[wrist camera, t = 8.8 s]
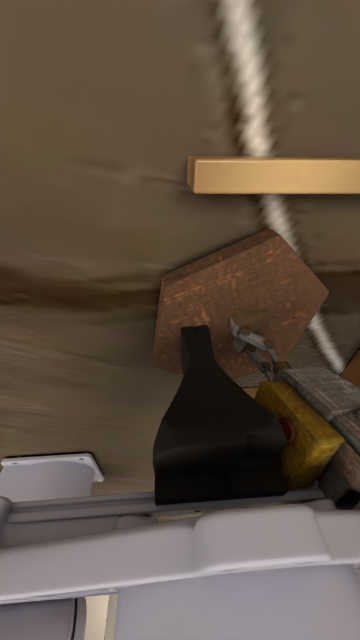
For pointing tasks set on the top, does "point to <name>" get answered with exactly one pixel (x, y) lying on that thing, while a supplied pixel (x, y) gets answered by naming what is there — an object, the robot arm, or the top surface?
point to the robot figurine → (269, 353)
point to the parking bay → (277, 189)
